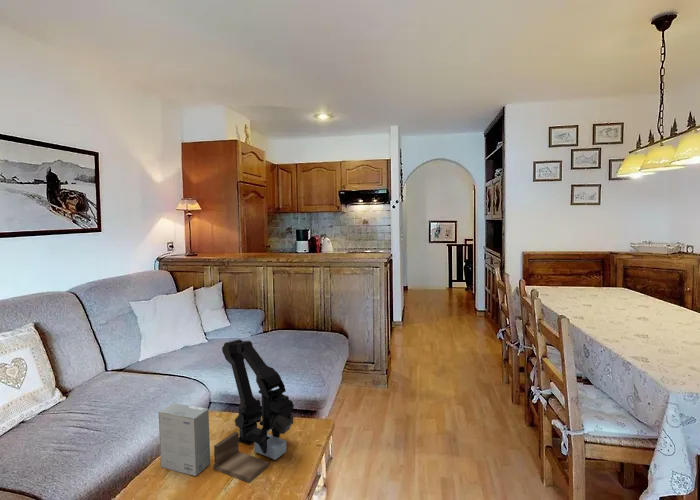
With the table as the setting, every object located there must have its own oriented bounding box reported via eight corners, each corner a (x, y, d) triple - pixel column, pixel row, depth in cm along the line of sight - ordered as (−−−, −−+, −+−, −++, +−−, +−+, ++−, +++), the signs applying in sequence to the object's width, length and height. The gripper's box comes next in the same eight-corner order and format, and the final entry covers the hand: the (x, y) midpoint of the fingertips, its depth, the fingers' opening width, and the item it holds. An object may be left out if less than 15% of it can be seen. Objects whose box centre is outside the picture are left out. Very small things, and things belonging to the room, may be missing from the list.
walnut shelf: (213, 468, 133) (212, 445, 133) (234, 453, 142) (233, 431, 142) (249, 482, 126) (248, 457, 126) (268, 465, 135) (268, 442, 135)
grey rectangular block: (254, 451, 142) (254, 440, 142) (266, 443, 147) (265, 433, 147) (275, 459, 137) (275, 448, 137) (286, 451, 142) (286, 440, 142)
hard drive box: (211, 463, 136) (209, 408, 135) (196, 477, 129) (194, 419, 128) (176, 455, 141) (174, 402, 140) (159, 467, 134) (157, 411, 133)
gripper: (271, 424, 129) (271, 469, 130) (302, 401, 146) (303, 441, 147) (245, 416, 134) (246, 460, 135) (278, 395, 151) (279, 434, 152)
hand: (270, 448), depth 142 cm, fingers closed on grey rectangular block, 6 cm apart
